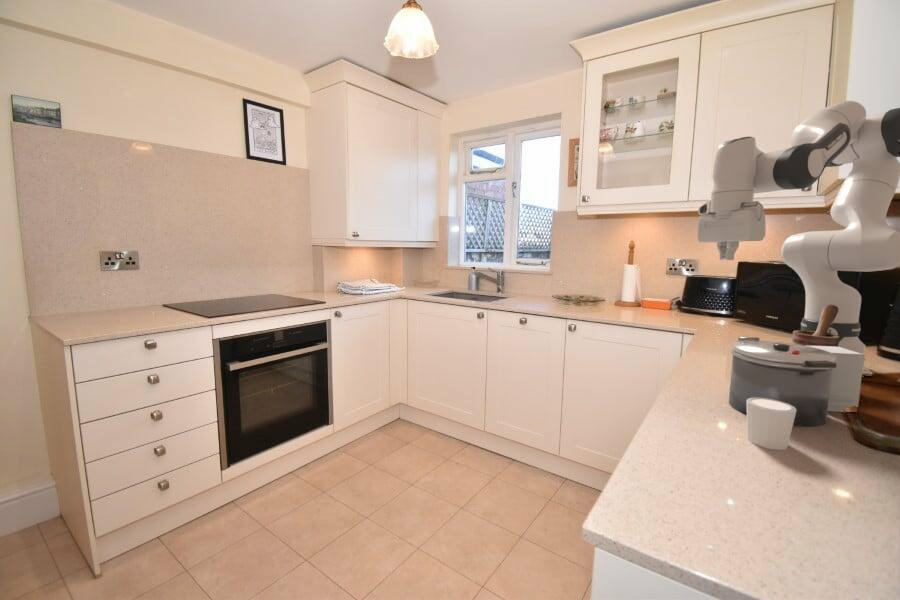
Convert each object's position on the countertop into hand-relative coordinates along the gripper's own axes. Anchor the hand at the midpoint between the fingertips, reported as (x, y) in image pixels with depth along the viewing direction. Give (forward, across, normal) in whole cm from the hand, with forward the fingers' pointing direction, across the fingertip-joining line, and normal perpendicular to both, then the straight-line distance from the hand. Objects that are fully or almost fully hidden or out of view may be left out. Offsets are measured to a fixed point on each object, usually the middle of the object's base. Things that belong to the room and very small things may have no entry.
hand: (726, 260), depth 103 cm
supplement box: (+31, -19, -11) cm, 38 cm away
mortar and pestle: (+31, -4, -21) cm, 38 cm away
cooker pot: (+31, -22, +2) cm, 38 cm away
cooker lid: (+19, -22, +2) cm, 29 cm away
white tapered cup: (+31, -36, +15) cm, 50 cm away
